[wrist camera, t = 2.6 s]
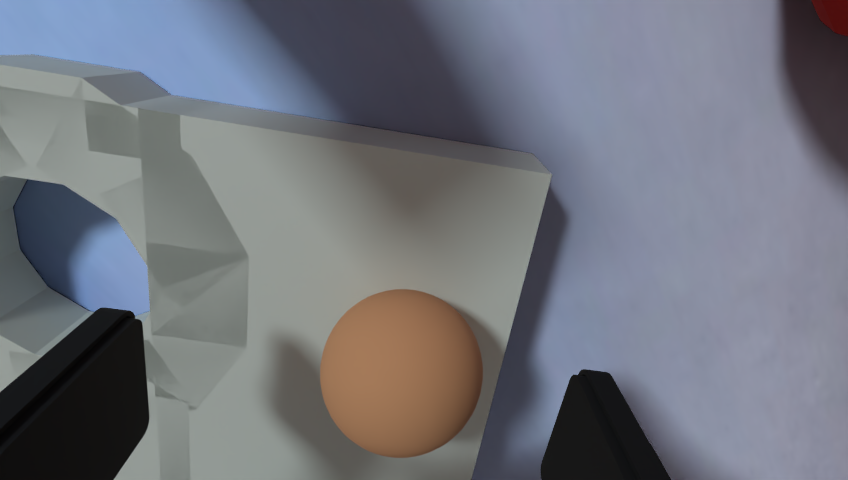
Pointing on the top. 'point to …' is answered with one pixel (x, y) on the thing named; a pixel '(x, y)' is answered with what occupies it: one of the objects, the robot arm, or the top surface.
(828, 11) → the tomato
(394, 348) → the ball
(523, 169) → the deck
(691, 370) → the top surface
